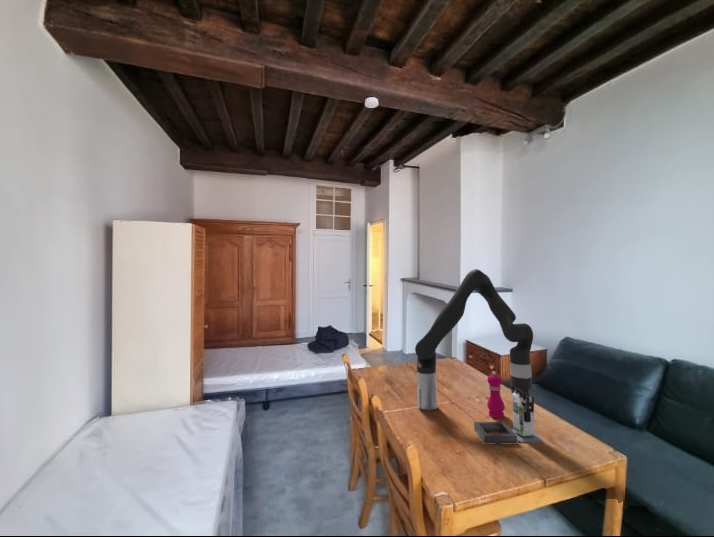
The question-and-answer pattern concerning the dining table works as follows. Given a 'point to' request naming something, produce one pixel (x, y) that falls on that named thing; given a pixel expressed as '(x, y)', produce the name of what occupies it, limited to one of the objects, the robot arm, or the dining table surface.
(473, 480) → the dining table surface
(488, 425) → the iron collar
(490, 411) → the pepper mill
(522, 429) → the syrup box
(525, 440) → the slate mat
